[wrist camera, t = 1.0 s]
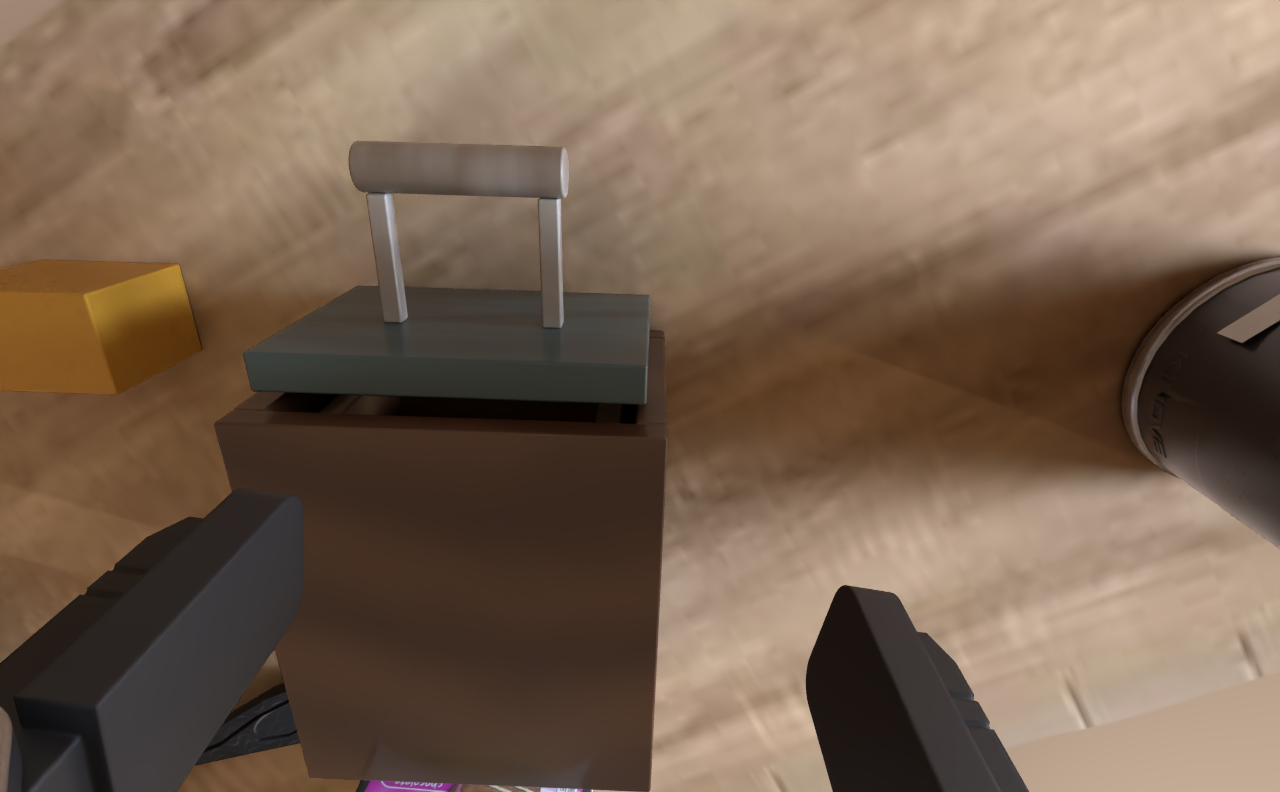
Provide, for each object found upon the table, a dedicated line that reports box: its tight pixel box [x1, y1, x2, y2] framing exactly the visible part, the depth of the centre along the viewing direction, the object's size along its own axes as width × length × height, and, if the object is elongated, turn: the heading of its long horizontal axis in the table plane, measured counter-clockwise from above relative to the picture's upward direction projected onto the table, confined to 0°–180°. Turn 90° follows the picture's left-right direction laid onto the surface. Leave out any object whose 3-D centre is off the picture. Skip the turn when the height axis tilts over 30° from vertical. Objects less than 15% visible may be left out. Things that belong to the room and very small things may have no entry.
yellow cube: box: [0, 260, 202, 395], centre depth 24 cm, size 4×5×5 cm, turn 89°
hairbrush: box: [194, 683, 300, 766], centre depth 34 cm, size 8×4×25 cm
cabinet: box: [214, 331, 668, 792], centre depth 24 cm, size 14×12×9 cm
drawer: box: [243, 141, 650, 424], centre depth 22 cm, size 18×11×7 cm, turn 178°
